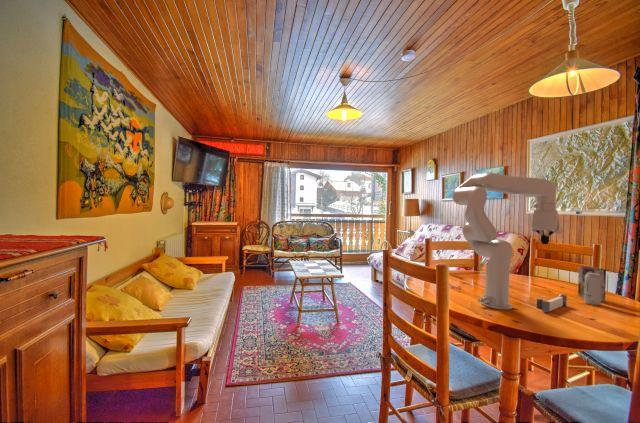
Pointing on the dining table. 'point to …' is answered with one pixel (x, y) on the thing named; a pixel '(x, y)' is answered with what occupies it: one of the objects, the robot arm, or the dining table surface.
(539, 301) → the stop post
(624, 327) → the dining table surface
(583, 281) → the coffee box
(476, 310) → the dining table surface
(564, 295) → the gate post
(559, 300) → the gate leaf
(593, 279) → the energy drink can
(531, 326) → the dining table surface
